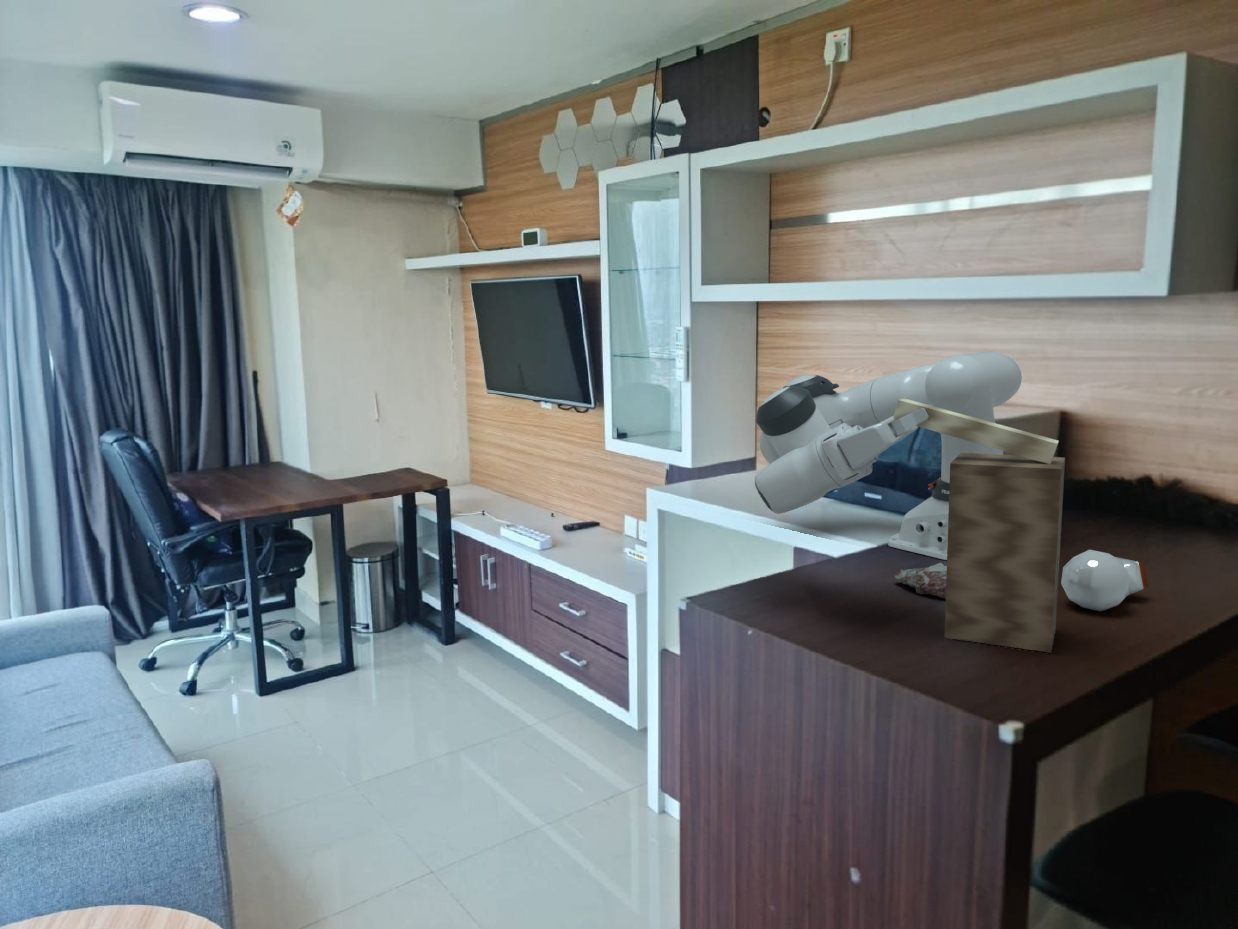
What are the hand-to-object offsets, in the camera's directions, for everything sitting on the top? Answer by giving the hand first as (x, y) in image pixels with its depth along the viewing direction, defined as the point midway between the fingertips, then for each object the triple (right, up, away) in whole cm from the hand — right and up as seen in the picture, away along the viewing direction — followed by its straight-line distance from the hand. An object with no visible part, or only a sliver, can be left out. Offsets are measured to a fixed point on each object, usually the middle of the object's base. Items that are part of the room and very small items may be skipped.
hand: (930, 410), depth 127 cm
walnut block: (+10, -33, 0) cm, 35 cm away
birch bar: (+5, -4, -2) cm, 7 cm away
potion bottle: (+32, -31, +12) cm, 46 cm away
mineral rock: (+8, -30, +20) cm, 37 cm away
